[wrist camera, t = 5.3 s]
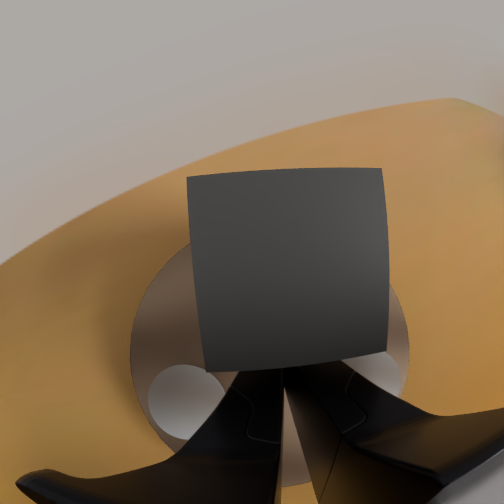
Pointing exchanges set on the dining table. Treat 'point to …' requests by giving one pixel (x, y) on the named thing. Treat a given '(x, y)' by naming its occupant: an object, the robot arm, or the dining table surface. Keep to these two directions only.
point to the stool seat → (217, 383)
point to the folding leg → (289, 266)
